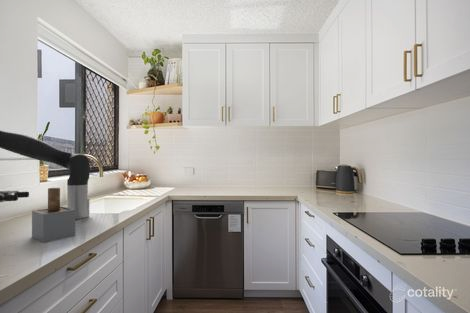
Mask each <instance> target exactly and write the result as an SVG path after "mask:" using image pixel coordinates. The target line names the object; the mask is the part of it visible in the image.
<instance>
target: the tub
mask: <svg viewBox="0 0 470 313" xmlns="http://www.w3.org/2000/svg"><path fill="white" fill-rule="evenodd" d="M60 208H63V209H67V210H65V211H59V212H52V213H46V214H45V213H42V212H39V211H43V210H48V208H41V209H35V210H31V238H32V239H34V240H36V241H39V242H41V243H43V244H44V243H47V242H53V241H57V240H62V239H66V238H70V237H74V236H76V219H75V209H72V208H68V207H67V206H60Z"/></svg>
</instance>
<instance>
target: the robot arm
mask: <svg viewBox="0 0 470 313" xmlns="http://www.w3.org/2000/svg"><path fill="white" fill-rule="evenodd" d="M0 149H2V150H6V151H7V152H12V153H15V154H17V155H21V156H23V157H26V158H30V159H34V160H37V161H42V162H48V163H51V164H55V165H57V166H60V167H62V168H65V169H67V170H69V177H68V178H67V183H66V184H67V185H66V186H67V188H66V191H67V192H66V201H67V202H66V207H68V208H72V209H75V220H80V219H85V218H89V217H90V198H89V194H88V192H89V191H88V190H89V188H88V187H89V179H90V172H91V171H90V166H91V165H90V164H91V163H90V159H89V158H88V156H87V155H85V154H82V153H72V152H68V151H64V150H61V149H58V148H57V147H55V146H52V144H50V143H47V142H45V141H43V140H40V139H38V138H35V137H33V136H29V135H24V134H20V133H16V132H15V133H14V132H8V131H4V130H0ZM29 197H30V192H29V191H19V190H2V191H1V190H0V203H4V202H17V201H18V200H19V198H29Z"/></svg>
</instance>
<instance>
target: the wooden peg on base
mask: <svg viewBox="0 0 470 313" xmlns="http://www.w3.org/2000/svg"><path fill="white" fill-rule="evenodd" d="M60 207H61V187H48V188H47V209H48V210H43V211H39V212H42V213H45V214H46V213H52V212H59V211H65V210H67V209H63V208H60Z"/></svg>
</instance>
